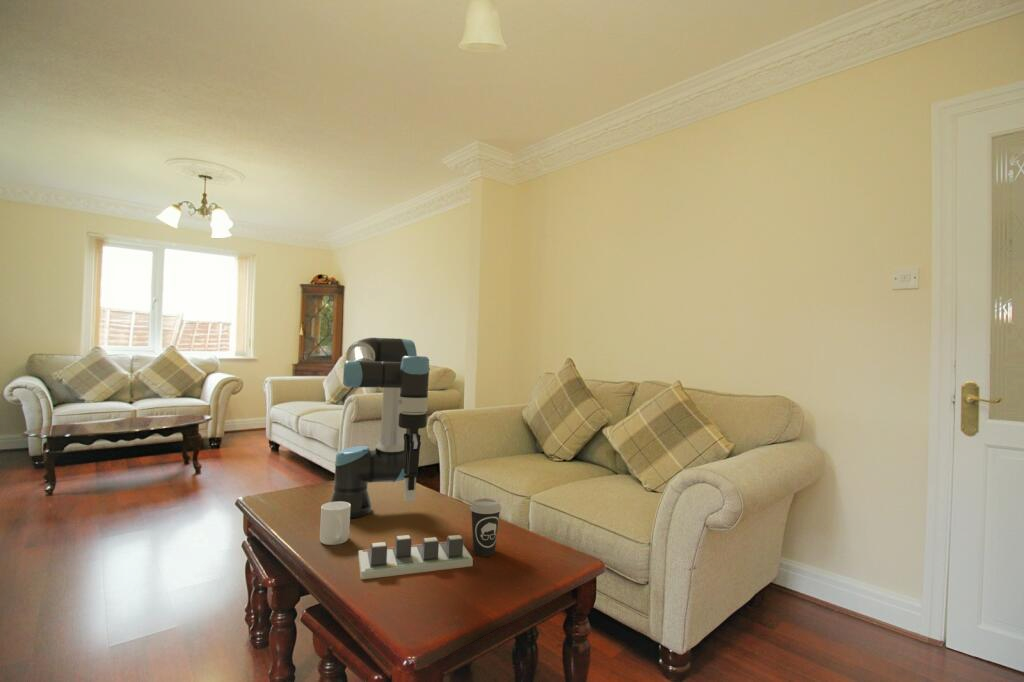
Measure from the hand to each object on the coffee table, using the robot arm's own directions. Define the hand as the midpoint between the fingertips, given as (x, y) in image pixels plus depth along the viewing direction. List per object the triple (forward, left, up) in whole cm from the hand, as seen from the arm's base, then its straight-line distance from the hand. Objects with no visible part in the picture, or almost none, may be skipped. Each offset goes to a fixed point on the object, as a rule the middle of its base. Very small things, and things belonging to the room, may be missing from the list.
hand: (409, 500), depth 129 cm
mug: (-27, -18, -20) cm, 38 cm away
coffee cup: (-8, +24, -20) cm, 32 cm away
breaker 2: (-7, 0, -17) cm, 18 cm away
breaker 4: (-3, +14, -17) cm, 22 cm away
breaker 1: (-3, -7, -17) cm, 19 cm away
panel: (-7, +3, -19) cm, 21 cm away
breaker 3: (-3, +7, -17) cm, 19 cm away
